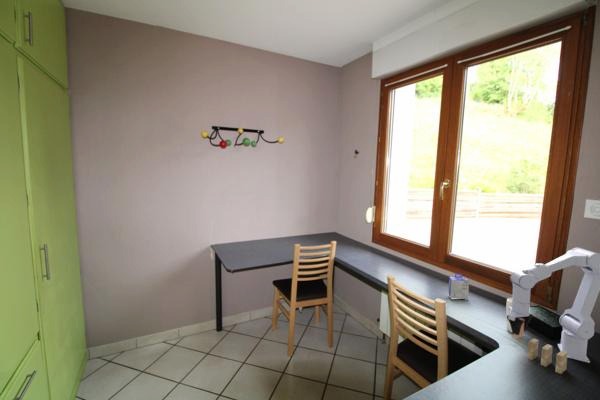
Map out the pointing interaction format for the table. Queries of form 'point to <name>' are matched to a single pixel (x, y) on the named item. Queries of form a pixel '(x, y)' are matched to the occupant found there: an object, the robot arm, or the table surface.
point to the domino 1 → (532, 349)
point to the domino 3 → (561, 362)
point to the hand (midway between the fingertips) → (518, 332)
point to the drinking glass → (508, 304)
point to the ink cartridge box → (458, 287)
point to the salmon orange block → (520, 330)
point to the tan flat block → (546, 355)
